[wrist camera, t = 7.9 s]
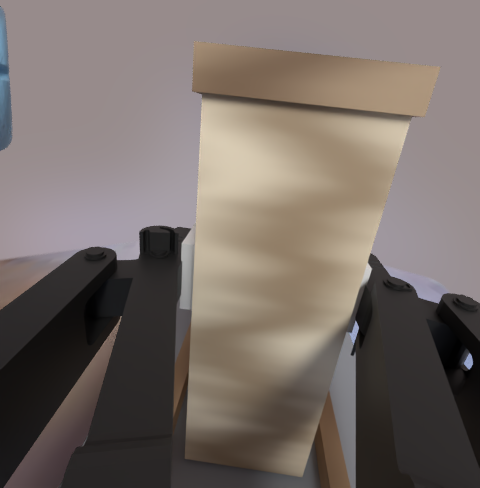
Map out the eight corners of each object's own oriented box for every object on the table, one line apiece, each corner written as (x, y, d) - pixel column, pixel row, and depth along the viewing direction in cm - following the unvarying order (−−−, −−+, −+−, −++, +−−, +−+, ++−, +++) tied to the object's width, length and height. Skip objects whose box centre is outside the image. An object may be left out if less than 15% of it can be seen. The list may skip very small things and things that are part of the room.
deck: (-110, 878, 7) (-156, 867, 6) (184, 283, 31) (185, 261, 30) (536, 1019, 6) (608, 1035, 5) (324, 302, 30) (329, 280, 29)
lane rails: (114, 548, 10) (112, 529, 10) (215, 265, 30) (215, 254, 29) (359, 590, 10) (369, 572, 9) (299, 276, 29) (301, 265, 29)
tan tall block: (178, 462, 13) (194, 41, 7) (211, 333, 20) (233, 80, 14) (307, 483, 13) (440, 67, 7) (292, 344, 20) (348, 92, 14)
